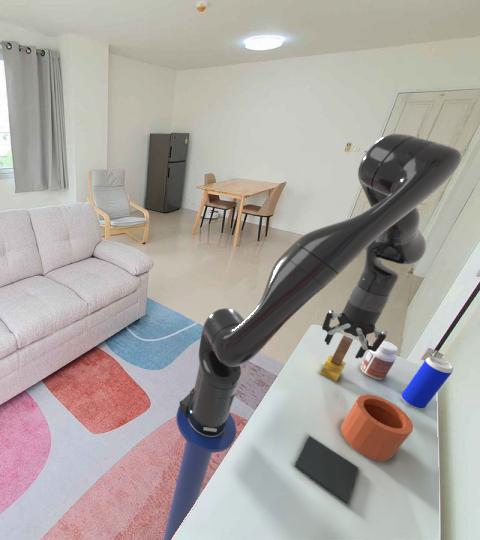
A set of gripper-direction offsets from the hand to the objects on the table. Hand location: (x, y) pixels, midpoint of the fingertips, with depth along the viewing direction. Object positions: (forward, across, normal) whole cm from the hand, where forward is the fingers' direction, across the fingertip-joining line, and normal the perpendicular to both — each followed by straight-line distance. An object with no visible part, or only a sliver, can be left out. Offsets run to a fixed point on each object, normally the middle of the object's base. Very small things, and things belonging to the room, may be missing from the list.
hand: (342, 349), depth 87 cm
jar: (+10, +12, -18) cm, 24 cm away
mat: (+10, +7, -33) cm, 35 cm away
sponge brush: (+10, 0, 0) cm, 10 cm away
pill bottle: (+10, +9, +11) cm, 17 cm away
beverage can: (+10, +19, +6) cm, 22 cm away
